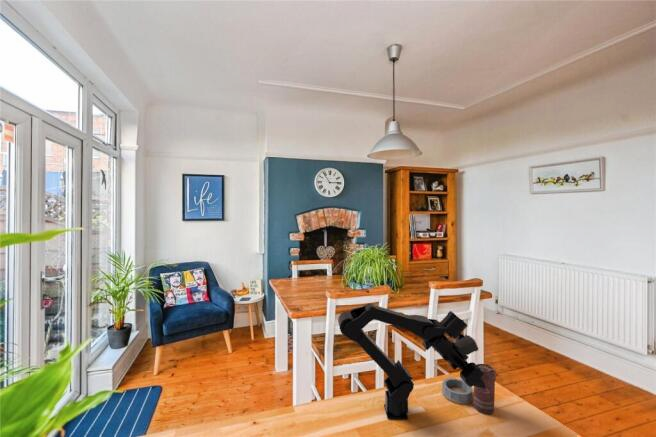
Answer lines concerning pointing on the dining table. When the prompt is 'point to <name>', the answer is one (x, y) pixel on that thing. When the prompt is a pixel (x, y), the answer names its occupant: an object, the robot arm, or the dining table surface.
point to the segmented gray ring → (457, 391)
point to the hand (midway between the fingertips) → (476, 378)
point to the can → (485, 391)
